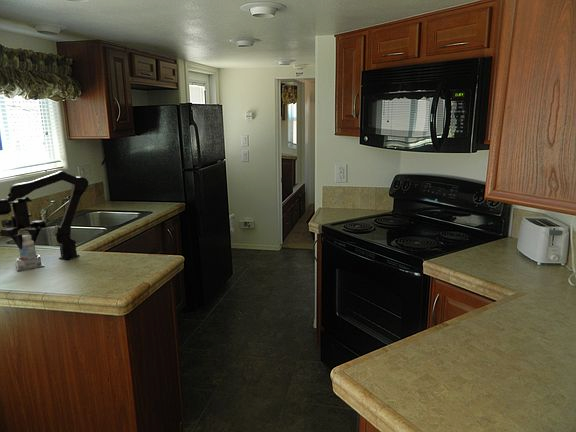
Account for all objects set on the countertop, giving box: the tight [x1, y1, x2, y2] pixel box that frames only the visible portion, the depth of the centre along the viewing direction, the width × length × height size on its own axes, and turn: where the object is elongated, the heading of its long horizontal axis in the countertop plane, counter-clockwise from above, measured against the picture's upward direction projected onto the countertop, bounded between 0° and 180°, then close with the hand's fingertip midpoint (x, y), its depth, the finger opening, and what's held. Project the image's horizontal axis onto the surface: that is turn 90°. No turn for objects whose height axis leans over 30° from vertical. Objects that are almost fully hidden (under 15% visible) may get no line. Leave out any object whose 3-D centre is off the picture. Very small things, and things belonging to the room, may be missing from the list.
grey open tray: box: [15, 253, 45, 272], centre depth 191 cm, size 14×10×4 cm
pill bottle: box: [18, 234, 37, 260], centre depth 190 cm, size 6×6×11 cm
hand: (27, 246), depth 190 cm, fingers closed on pill bottle, 6 cm apart
